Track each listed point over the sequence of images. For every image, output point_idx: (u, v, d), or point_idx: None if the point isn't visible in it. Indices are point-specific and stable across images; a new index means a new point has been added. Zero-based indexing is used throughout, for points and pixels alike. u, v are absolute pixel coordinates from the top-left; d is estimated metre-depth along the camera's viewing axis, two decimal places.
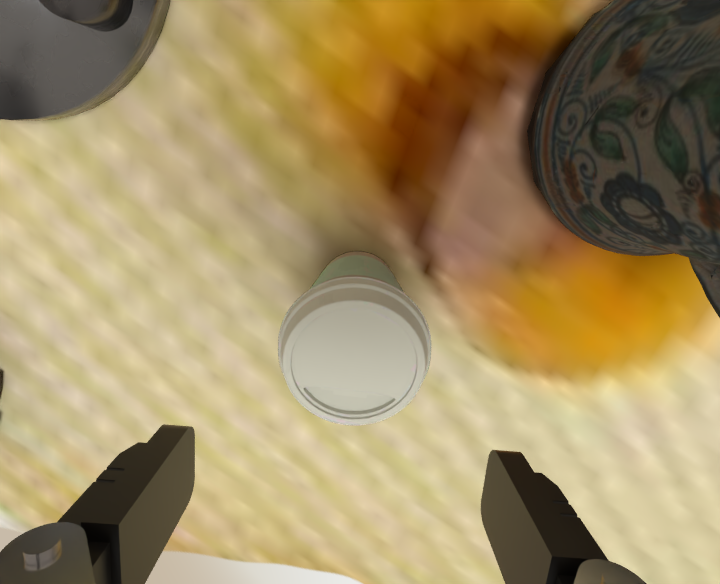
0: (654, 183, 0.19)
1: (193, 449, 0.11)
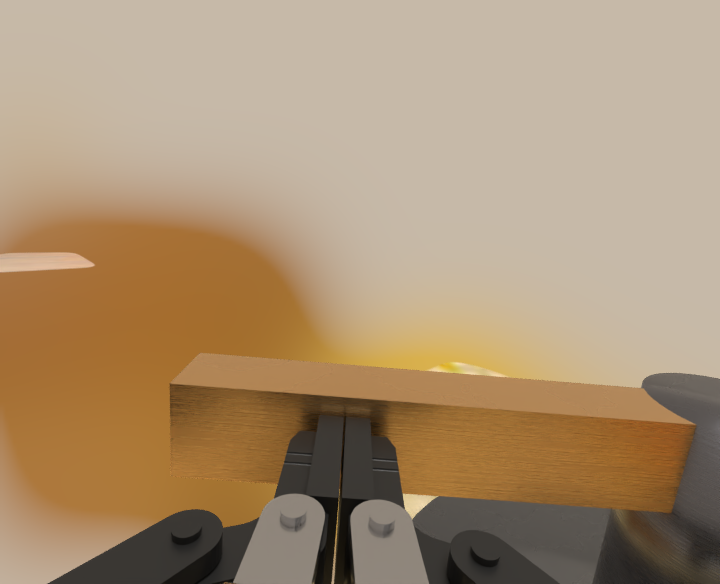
0: None
1: None
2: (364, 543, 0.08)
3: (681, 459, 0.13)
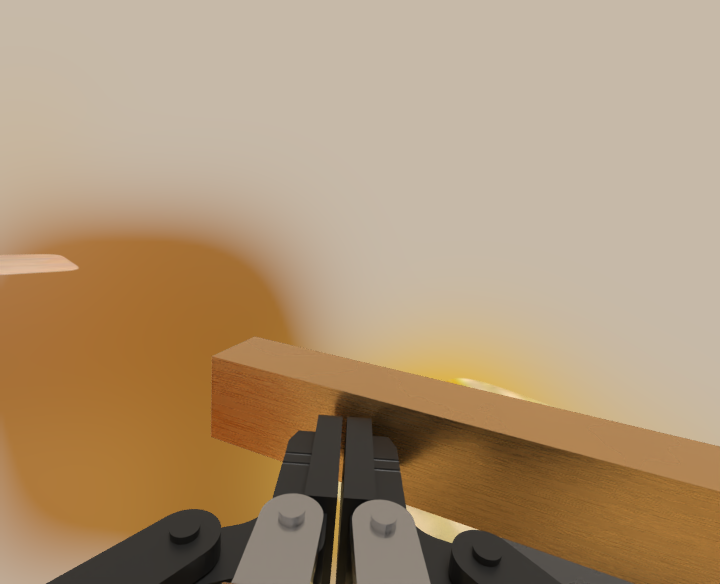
0: None
1: None
2: (365, 543, 0.08)
3: None
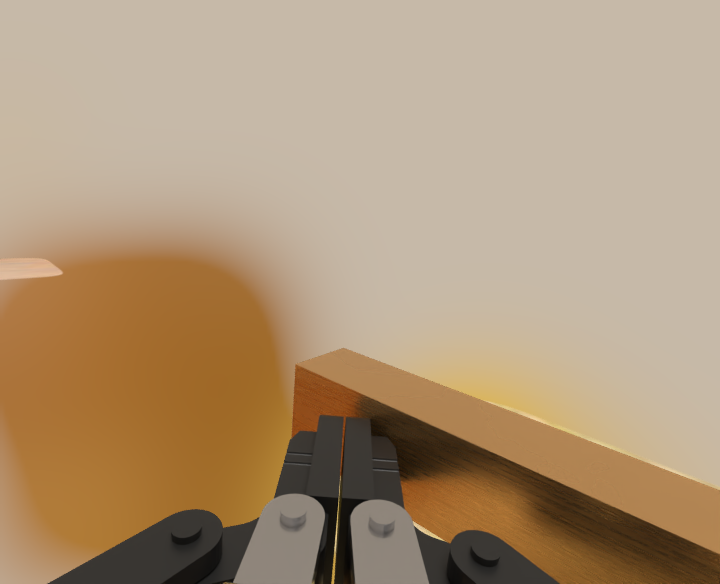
0: None
1: None
2: (364, 543, 0.08)
3: None
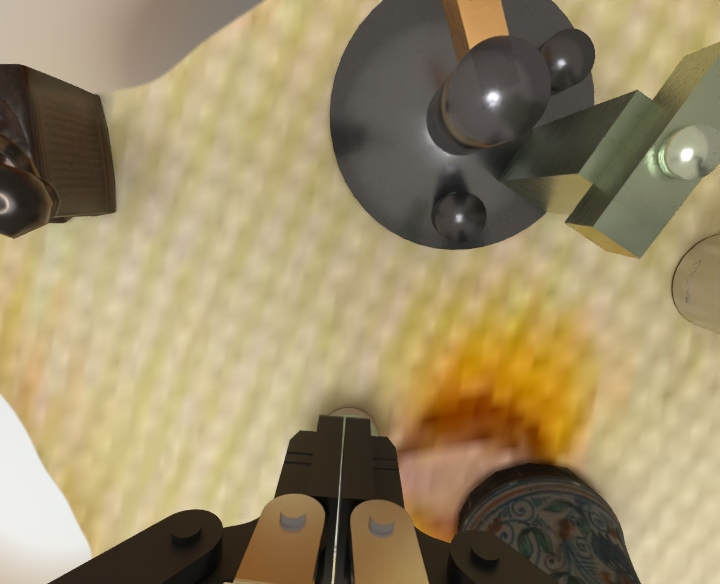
0: None
1: None
2: (364, 543, 0.08)
3: (464, 53, 0.27)
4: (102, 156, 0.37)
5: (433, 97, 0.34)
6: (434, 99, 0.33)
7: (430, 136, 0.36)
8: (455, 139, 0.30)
